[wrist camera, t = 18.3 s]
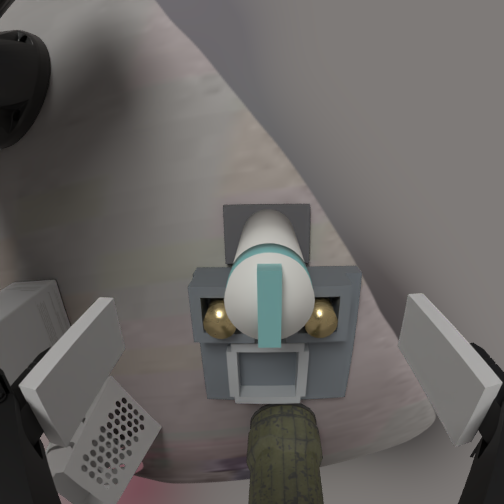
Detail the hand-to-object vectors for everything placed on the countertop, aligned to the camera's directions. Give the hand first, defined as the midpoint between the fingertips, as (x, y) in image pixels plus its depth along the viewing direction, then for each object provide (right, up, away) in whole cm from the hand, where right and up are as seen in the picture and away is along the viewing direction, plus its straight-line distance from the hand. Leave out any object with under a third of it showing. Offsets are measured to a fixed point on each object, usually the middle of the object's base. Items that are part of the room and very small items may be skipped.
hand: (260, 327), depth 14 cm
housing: (+2, -6, +21) cm, 22 cm away
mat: (+1, +5, +17) cm, 18 cm away
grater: (-20, -20, +26) cm, 39 cm away
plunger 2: (+6, -2, +17) cm, 18 cm away
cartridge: (+1, +5, +17) cm, 18 cm away
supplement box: (-28, -5, +22) cm, 36 cm away
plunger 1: (-3, -2, +17) cm, 17 cm away
